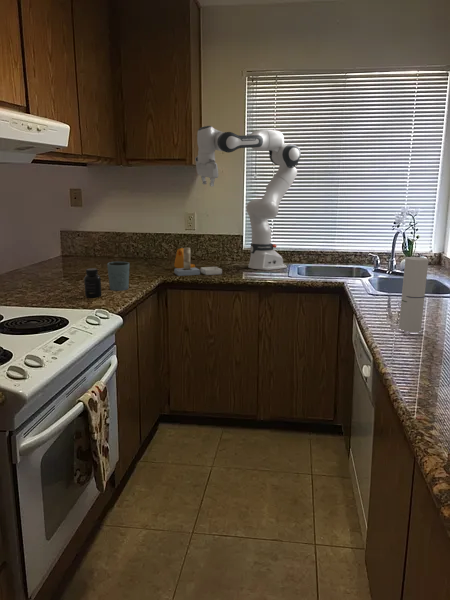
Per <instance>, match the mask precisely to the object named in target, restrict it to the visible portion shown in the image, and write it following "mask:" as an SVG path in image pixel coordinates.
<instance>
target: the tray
mask: <svg viewBox="0 0 450 600" xmlns="http://www.w3.org/2000/svg"><path fill="white" fill-rule="evenodd" d="M200 274H203V275H205V276H211V275H212V276H214V275H222V274H223V269H222V268H221V267H220V268H219V267H218V266H205V267H200Z"/></svg>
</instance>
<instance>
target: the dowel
mask: <svg viewBox="0 0 450 600" xmlns="http://www.w3.org/2000/svg"><path fill="white" fill-rule="evenodd" d="M183 248H184V270H190V264H191V247H183Z"/></svg>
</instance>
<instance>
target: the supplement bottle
mask: <svg viewBox="0 0 450 600" xmlns="http://www.w3.org/2000/svg"><path fill="white" fill-rule="evenodd" d="M85 273H86V275H85V276H84V278H83V281H84V282H83V283H84V293H85V297H86V298H89V299H95V298H96V299H97V298H101V296H102V294H103V293H102V282H101V280H102V279H101V276H100V275H99V274H98V273H99V272H98V268H96V267H95V268H93V267H91V268H87V269H85Z"/></svg>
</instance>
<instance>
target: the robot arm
mask: <svg viewBox="0 0 450 600" xmlns="http://www.w3.org/2000/svg"><path fill="white" fill-rule="evenodd" d="M196 138H197V148H198V149H197V150H198V151H197V156H196V157H195V158H194V159H195V160H194V162H195V166H196V173H197V176H200V178H201V181H202V185H207V180H206V178H209V180H210V182H209V187H214V186H215V180H216V179H219V169H218V163H217V162H216V151H220V152H224V153H233V152H235V151H237V150H238V149H250V148H251V149H253V150H254V151H262V152H263V151H264V152H265V151H267V152H268V154H269V160H270V162H271V163H272V164H273V165H277V166H278V170H277V171H276V173H275V174H274V175H273V177H272V178H271V180H270V181H269V182H268V184H267V185H266V186H265V192H264V195H263V197H262V198H254V199H252V200H250V201H248V203H247V204H246V212H247V215H248V216H249V222H250V228H251V243H250V259H249V263H248V266H247V267H248V268H249V269H252V270H253V269H255V270H264V271H269V270H270V271H272V270H278V269H279V270H281V269H287V267H288V266H287V265H286V264H285V263H284V259H283V257H282V255H281V254H279V253H278V252H277V251H276V250H275V249H276V248H277V247H278V246H277V244H274V243H271V242H272V229H271V227H270V224H269V221H268V220H272V219H274V218H276V217H277V216H278V214H279V206H280V204H281V201H282V199H283V197H284V196H285V195H286V193H287V192H288V190H289V189H290V188H291V186H292V184H293V183H294V181H295V179H296V177H297V175H298V170H297V168H296V167H297V166H298V164H299V161H300V159H301V156H302V155H301V149H300V147H299V146H298V145H295V144H292V143H289V144H287V143H285V137H284V134H283V133H282V132H281V131H280V130H275V129H258V130H254V131H252V132H251V134H247V135H243V134H242V135H239V134H236V133H235V132H232V131H221V130H218V129H216V128H214V126H212V125H206V126H205V125H204V126H201V127H199V128H198V130H197V135H196Z"/></svg>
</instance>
